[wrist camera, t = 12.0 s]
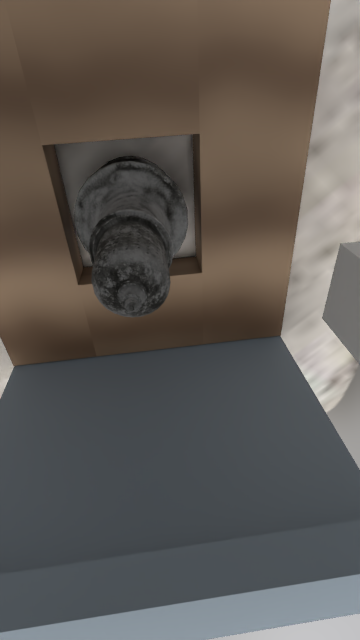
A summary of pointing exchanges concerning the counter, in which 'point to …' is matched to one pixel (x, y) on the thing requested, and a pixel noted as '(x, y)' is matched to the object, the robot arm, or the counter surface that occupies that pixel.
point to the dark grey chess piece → (131, 233)
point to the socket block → (154, 121)
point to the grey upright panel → (173, 497)
